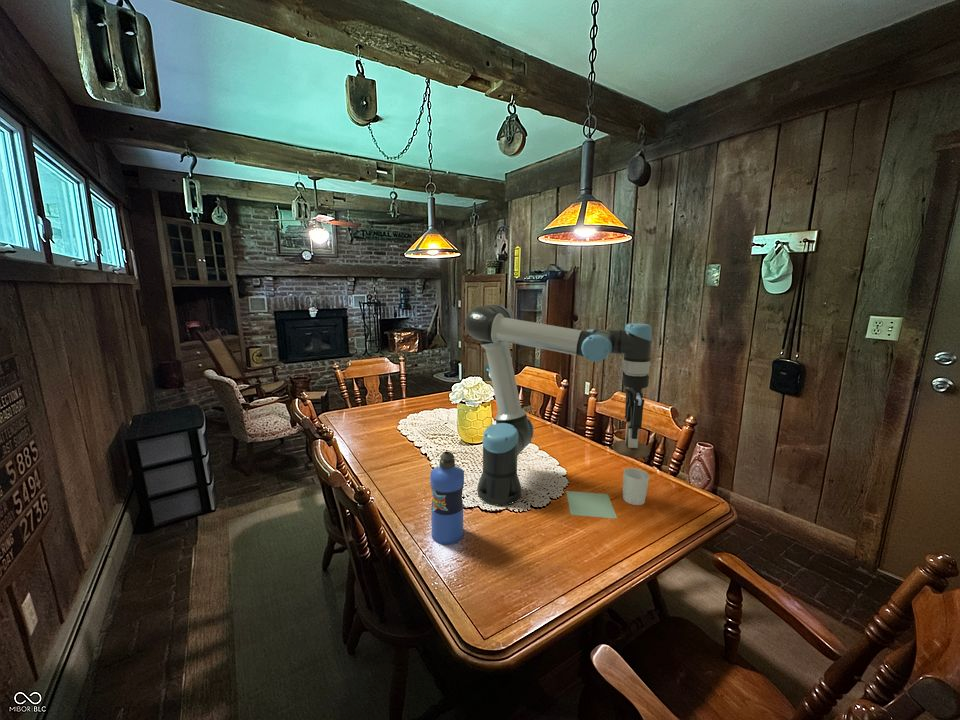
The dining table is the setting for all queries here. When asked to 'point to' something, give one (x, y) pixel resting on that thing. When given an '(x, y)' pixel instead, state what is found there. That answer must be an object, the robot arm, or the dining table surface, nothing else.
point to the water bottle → (447, 501)
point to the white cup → (635, 485)
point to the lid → (624, 450)
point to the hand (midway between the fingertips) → (631, 444)
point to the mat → (590, 504)
